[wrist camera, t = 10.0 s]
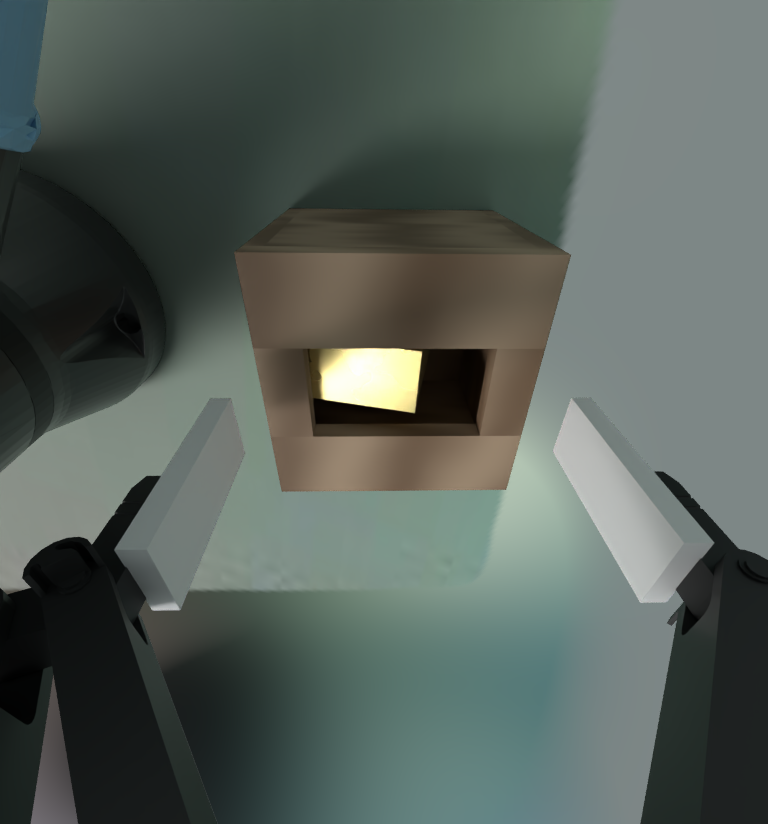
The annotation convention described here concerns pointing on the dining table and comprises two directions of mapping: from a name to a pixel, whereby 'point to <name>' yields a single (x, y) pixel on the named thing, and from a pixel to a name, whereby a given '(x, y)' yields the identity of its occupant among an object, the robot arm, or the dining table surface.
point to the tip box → (400, 341)
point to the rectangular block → (369, 376)
